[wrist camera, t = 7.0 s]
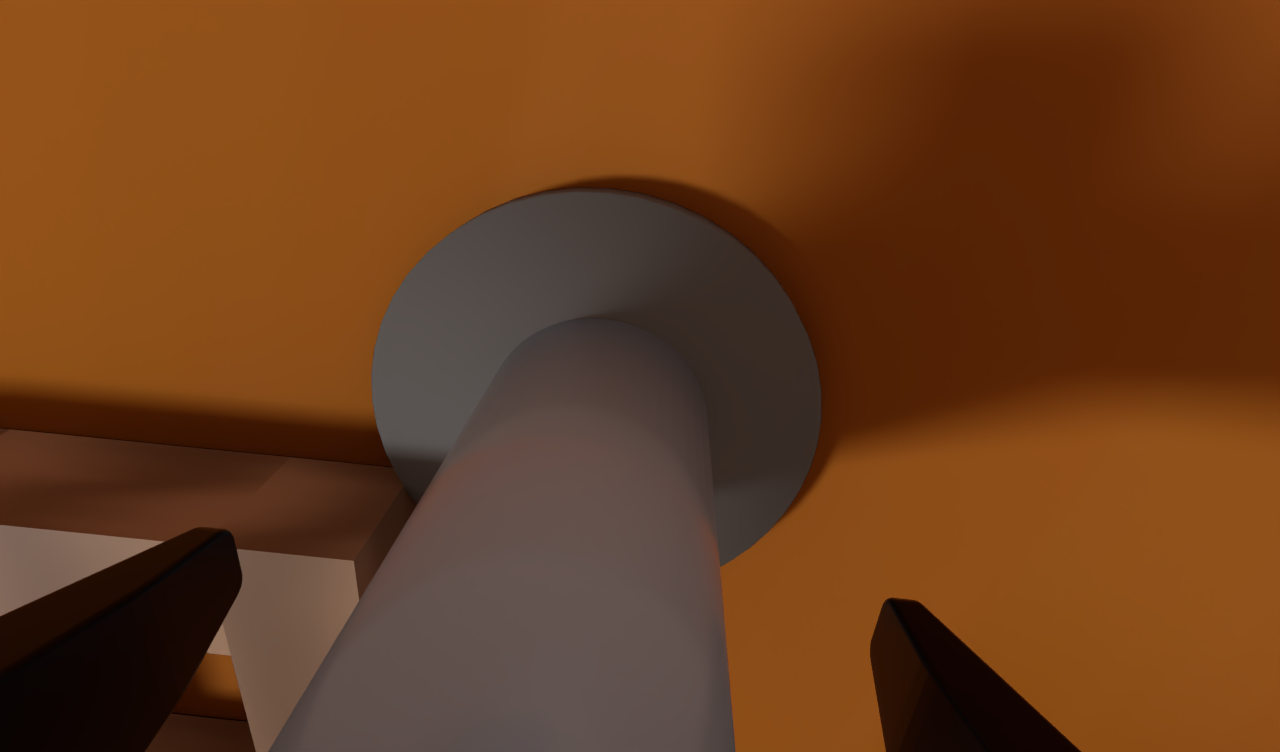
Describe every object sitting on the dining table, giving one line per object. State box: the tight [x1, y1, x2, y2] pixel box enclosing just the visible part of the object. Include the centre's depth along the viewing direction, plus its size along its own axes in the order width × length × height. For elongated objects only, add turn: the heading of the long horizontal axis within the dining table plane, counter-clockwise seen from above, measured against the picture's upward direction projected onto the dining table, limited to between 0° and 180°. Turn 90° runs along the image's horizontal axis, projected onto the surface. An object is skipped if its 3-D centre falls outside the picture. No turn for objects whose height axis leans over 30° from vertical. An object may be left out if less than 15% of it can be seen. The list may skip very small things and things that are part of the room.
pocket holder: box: [0, 428, 417, 752], centre depth 16 cm, size 12×12×3 cm
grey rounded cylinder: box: [268, 318, 735, 752], centre depth 9 cm, size 4×4×9 cm
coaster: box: [371, 187, 821, 566], centre depth 13 cm, size 9×9×1 cm
